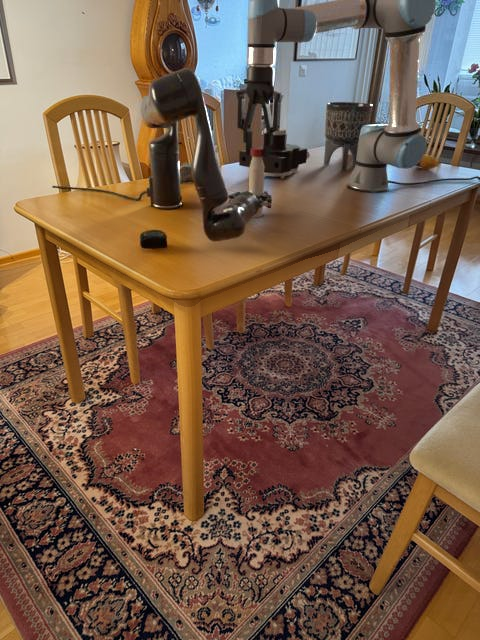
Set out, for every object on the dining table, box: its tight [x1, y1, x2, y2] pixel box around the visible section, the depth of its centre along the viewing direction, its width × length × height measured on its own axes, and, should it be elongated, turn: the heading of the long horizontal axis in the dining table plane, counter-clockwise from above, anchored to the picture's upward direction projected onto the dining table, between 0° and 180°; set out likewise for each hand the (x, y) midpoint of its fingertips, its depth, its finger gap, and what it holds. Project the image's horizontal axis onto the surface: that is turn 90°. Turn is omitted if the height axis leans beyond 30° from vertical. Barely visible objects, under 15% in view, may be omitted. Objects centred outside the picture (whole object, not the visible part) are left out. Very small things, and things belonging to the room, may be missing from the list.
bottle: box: [248, 156, 265, 218], centre depth 139 cm, size 4×4×20 cm
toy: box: [414, 154, 440, 170], centre depth 211 cm, size 11×6×15 cm
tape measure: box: [139, 229, 168, 250], centre depth 117 cm, size 7×7×4 cm
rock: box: [179, 161, 194, 184], centre depth 179 cm, size 13×9×6 cm, turn 131°
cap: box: [250, 146, 263, 157], centre depth 135 cm, size 4×4×2 cm
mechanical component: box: [238, 127, 311, 179], centre depth 191 cm, size 22×21×30 cm
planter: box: [323, 101, 374, 172], centre depth 204 cm, size 20×20×26 cm
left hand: (257, 193), depth 143 cm, fingers closed on bottle, 4 cm apart
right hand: (257, 155), depth 135 cm, fingers open, 5 cm apart
